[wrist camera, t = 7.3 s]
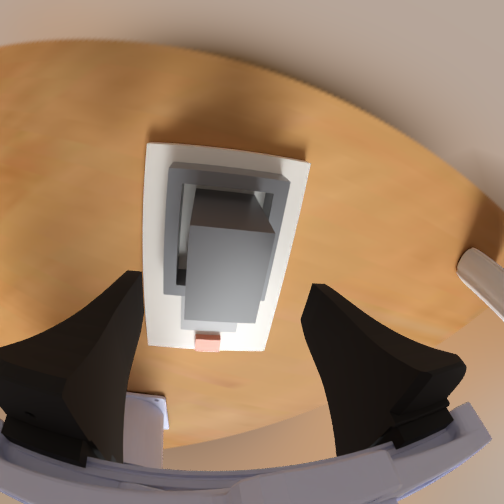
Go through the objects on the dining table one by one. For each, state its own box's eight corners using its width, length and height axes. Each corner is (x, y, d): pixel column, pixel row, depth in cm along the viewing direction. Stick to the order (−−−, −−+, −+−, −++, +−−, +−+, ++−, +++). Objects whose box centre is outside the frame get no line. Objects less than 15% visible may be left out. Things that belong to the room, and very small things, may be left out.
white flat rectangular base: (149, 337, 23) (145, 362, 20) (150, 141, 16) (139, 147, 13) (262, 343, 25) (268, 367, 22) (305, 160, 18) (322, 169, 15)
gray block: (189, 260, 19) (184, 319, 14) (196, 188, 17) (189, 225, 11) (242, 265, 20) (255, 323, 14) (254, 194, 17) (275, 233, 12)
